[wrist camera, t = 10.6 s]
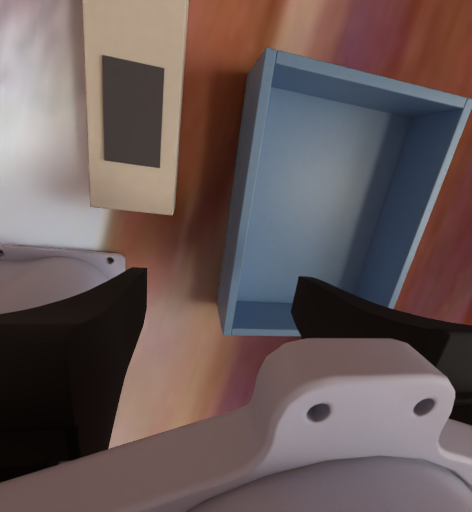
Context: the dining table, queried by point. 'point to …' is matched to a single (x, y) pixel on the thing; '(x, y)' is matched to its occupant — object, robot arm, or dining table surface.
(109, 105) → the remote
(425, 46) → the dining table surface
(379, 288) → the box
